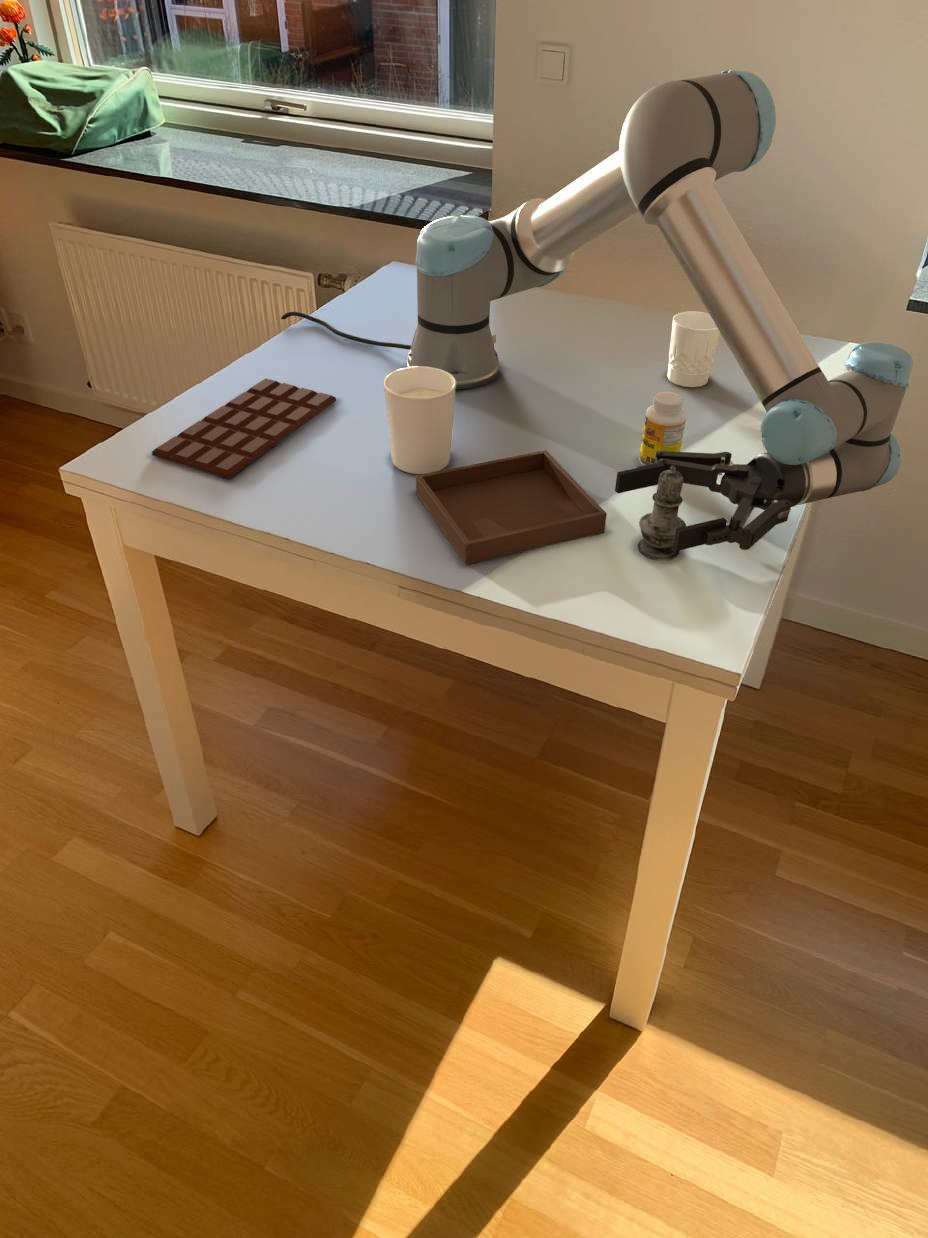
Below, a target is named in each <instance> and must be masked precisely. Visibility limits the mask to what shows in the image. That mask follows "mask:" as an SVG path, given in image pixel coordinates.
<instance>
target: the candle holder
mask: <svg viewBox="0 0 928 1238" xmlns="http://www.w3.org/2000/svg"><path fill="white" fill-rule="evenodd" d="M383 389H384V398H385V407H386V419H387V427H388V438H389V439H388V440H389V446H390V447H389V448H390V455H391V456H390V457H391V461H392V464H393V466H395V467H396V468H397V469H398V470H400V471H401V472H404V473H408V474H413V475H421V474H426V473H431V472H436V471H441V470H444V469H446V467H447V466H448V465H449V464H450V461H451V453H452V441H453V429H454V413H455V399H456V390H457V389H456V380H455V378H454V377H453V376H452V375H451V374H450V373H448V372H446V371H444V370H441V369H437V368H432V367H407V366H406V367H403V368H399V369H396V370H394V371H392V372H390V373H389V374H388V375H386V377H385V378H384V380H383Z"/></svg>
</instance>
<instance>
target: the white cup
mask: <svg viewBox="0 0 928 1238" xmlns="http://www.w3.org/2000/svg"><path fill="white" fill-rule="evenodd" d="M670 333H671V334H670V339H669V340H670V341H669V352H668V366H667V373H666V376H667V379H668V381H669V382H671V383H672V384H674V385H677V386H680V387H684V388H699V387H703V386H705V385H707V384H708V382H709V379H710V375H711V372H712V368H713V367H714V362H715V358H716V353H717V351H718V346H719V342H720V339H721V333H720V332H719V330H718V328H717V326H716V325H715V323H714V321H713V320H712V318H711V316H710V315H709V313H708V312H707V311H706V312H704V311H700V310H699V311H698V310H697V311H696V310H687V311H681V312H678V313H676V314H675V315H673V316H672V325H671V332H670Z"/></svg>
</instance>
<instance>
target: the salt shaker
mask: <svg viewBox="0 0 928 1238" xmlns="http://www.w3.org/2000/svg"><path fill="white" fill-rule="evenodd" d="M670 469H671V470H666V471H663V472H662V473H661V474H660V476H659V480H658V485H656V492H655V493H653V494H652V497H651V499H652V501H653V507H652V511H651V512H649V513H646V514H644V515H642V516H641V517H640V519H639V521H638V527H639V529H640V534H641V536H642V539H640V540H639V541H638V543H637V550H638V552H639V553H640V554H641V555H642V556H644V557H645V558H647V559H650V560H654V561H658V562H664V561H665V562H666V561H671V560H674V559H675V558H677V557H678V556H679V555H680V553H681V550H679V551H675V550H674V549H673V544H674V539H675V533H676V529H677V528H681V527H685V526H687V523H686V522H685V521H684V519H683V518H681V517H679V515H678V514H679V508H680V506H681V504H683V502H684V499H683V497H682V496H681V494H682V490H683V484H684V483H683V476H682V475H681V473H679V472H678V471H675V469H676V468H675V466H674V465H673V466H671V467H670Z"/></svg>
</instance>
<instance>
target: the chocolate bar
mask: <svg viewBox="0 0 928 1238" xmlns="http://www.w3.org/2000/svg"><path fill="white" fill-rule="evenodd" d="M336 402H337V397H335V396H333V395H331V394H328V393H325V392H324V393H323V392H317V391H314V390H312V389H308V388H304V387H301V388H300V387H297V386H296V385H293V384H289V383H285V382H283V383H281V382H279V381H277V380H273V379H270V378H263V379H262V380H260V381H259V382H258V383H256V384H255V385H252V386H251V387H249V389H248V390H246V391H243V392H242V393H240V394H239V395H237V396H236V397H234V398H233V399H231V400H230V401H228V402H227V403H225V404H224V405H221V406H220V407H219V408H217V409H216V410H214V411H212V412H211V413H209V414H208V415H206V416H204V417H203V418H202V419H201V420H197V422H195V423H194V424H192V425H190V426H188V427H187V428H185V429H183V431H181V432H180V433H178V435H176V436H173V437H171V438H170V439H168V440H167V441H165V442H164V443H162V444H160V445H158V446H157V447H156V448H155V449H154V450H152V451H151V455H152V456H154V457H157V458H160V459H163V460H165V461H170V462H172V463H173V462H174V463H175V464H176V463H177V464H179V465H184V466H186V467H189V468H193V469H196V470H199V471H202V472H205V473H208V474H212V475H214V476H218V477H222V478H225V479H228V480H229V479H231V478H232V477H234V476H235V475H236V474H238V473H239V472H241V471H242V470H244V469H245V468H246V467H248V466H249V465H250V464H251V463H253V462H254V461H255V460H257V459H259V458H260V457H261V456H262V455H264V454H265V453H267V452H268V451H270V450H271V449H272V448H274V447H275V446H276V445H278V444H279V443H280V442H282V441H283V440H284V439H286V438H287V437H288V436H290V435H291V434H293V433H294V432H295V431H297V430H299V428H301V427H302V426H304V425H305V424H306V423H308V422H309V421H311V420H312V419H313V418H315V417H316V416H318V415H319V414H320V413H322V412H324V410H326V409H327V408H329V407H330V406H331V405H333V404H334V403H336Z"/></svg>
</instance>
